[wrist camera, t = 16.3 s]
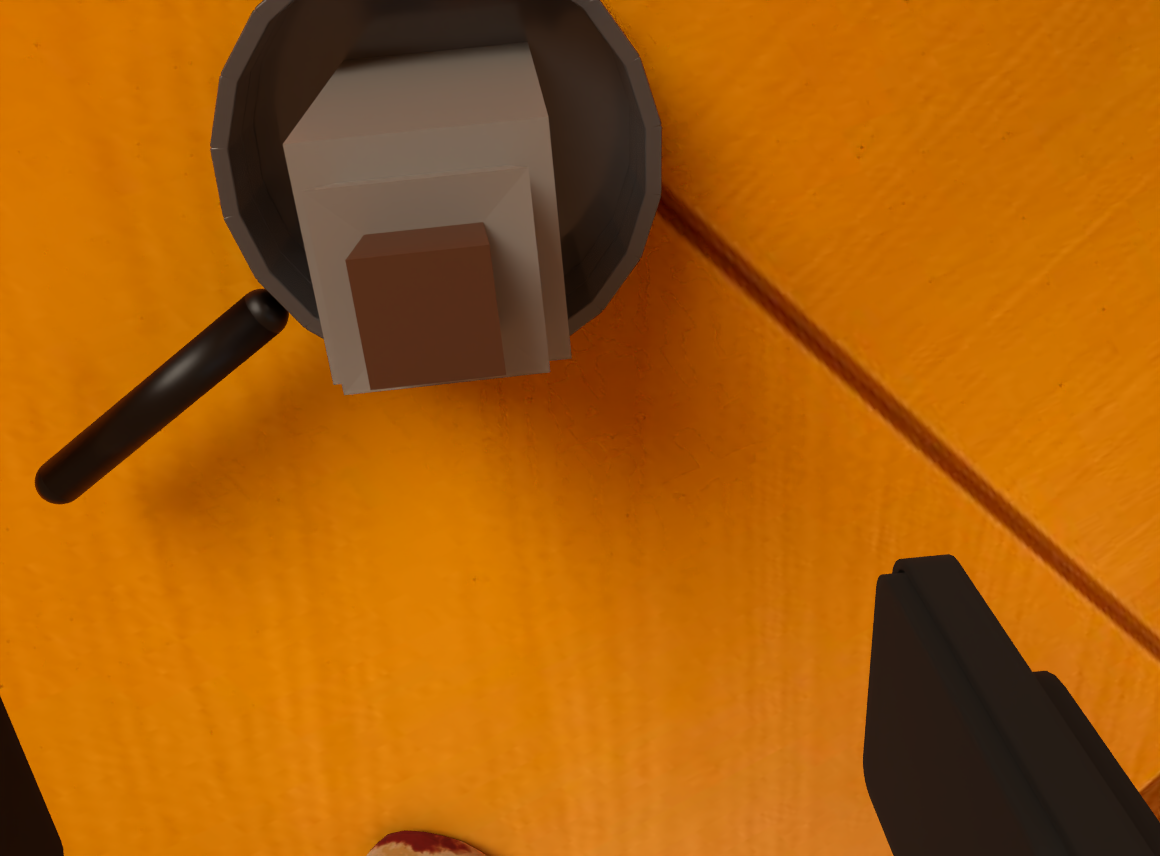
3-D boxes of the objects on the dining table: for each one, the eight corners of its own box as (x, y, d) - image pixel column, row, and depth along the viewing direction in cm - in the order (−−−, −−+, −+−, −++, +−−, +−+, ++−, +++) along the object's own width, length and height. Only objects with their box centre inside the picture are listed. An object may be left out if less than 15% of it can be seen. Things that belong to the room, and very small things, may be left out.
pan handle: (267, 272, 40) (258, 289, 38) (302, 307, 40) (295, 325, 39) (34, 467, 43) (17, 490, 41) (71, 497, 43) (55, 521, 42)
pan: (468, -180, 36) (466, -187, 32) (718, 169, 43) (746, 204, 38) (154, 108, 40) (113, 137, 35) (428, 392, 46) (422, 447, 41)
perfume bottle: (343, 60, 39) (248, 190, 23) (527, 41, 39) (560, 158, 23) (375, 239, 42) (311, 462, 26) (545, 221, 42) (585, 431, 26)
